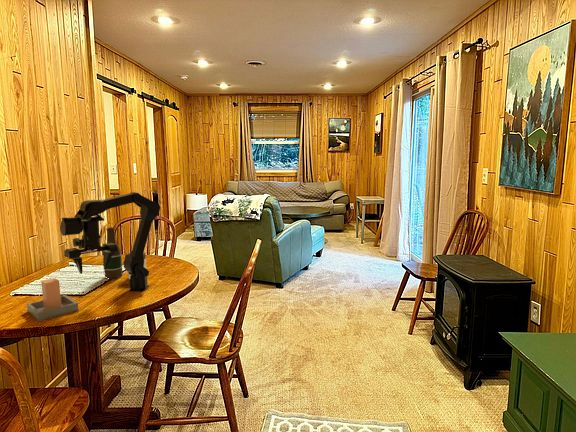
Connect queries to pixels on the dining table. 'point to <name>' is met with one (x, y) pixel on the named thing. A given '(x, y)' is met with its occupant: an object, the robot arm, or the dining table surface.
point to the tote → (40, 314)
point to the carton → (51, 293)
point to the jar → (144, 261)
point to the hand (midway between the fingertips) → (93, 271)
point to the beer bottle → (113, 258)
